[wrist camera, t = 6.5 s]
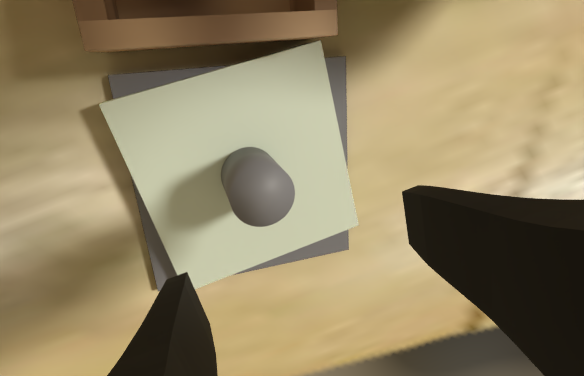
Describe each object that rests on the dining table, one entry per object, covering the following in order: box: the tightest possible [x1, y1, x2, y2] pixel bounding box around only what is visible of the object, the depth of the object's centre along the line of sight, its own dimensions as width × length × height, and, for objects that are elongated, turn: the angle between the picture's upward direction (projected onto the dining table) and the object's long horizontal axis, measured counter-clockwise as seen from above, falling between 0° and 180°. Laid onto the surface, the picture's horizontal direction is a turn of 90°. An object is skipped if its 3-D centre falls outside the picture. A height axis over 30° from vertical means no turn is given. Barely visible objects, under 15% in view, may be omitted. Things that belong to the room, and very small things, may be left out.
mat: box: [108, 56, 349, 291], centre depth 21 cm, size 12×12×1 cm
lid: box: [99, 40, 359, 289], centre depth 19 cm, size 11×11×4 cm
